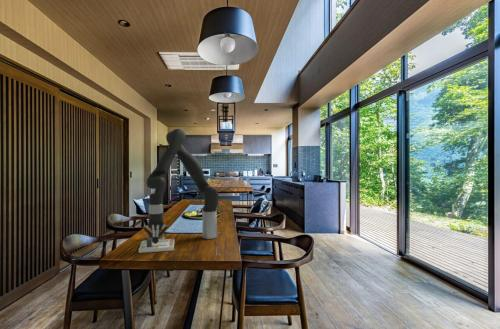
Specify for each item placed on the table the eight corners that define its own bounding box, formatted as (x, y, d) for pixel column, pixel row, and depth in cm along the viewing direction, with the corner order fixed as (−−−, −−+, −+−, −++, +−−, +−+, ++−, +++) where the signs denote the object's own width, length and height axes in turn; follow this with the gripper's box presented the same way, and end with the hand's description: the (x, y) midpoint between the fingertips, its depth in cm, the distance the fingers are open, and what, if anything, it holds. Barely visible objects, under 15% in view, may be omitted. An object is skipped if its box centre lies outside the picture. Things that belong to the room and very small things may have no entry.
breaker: (153, 240, 153) (153, 233, 154) (153, 241, 151) (153, 234, 151) (149, 240, 153) (149, 234, 153) (148, 242, 150) (148, 235, 150)
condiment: (165, 238, 167) (165, 219, 167) (151, 240, 162) (151, 221, 162) (162, 235, 173) (162, 217, 173) (149, 237, 168) (149, 219, 168)
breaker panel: (174, 242, 159) (174, 238, 159) (173, 250, 143) (173, 246, 143) (142, 244, 154) (143, 240, 154) (138, 253, 138) (138, 249, 138)
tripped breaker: (151, 245, 145) (151, 237, 145) (151, 246, 142) (151, 239, 142) (147, 245, 144) (147, 238, 144) (146, 246, 142) (146, 239, 142)
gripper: (168, 210, 149) (168, 240, 149) (144, 211, 146) (143, 242, 146) (168, 212, 142) (167, 244, 142) (142, 213, 139) (141, 246, 139)
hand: (155, 243), depth 144 cm, fingers closed
